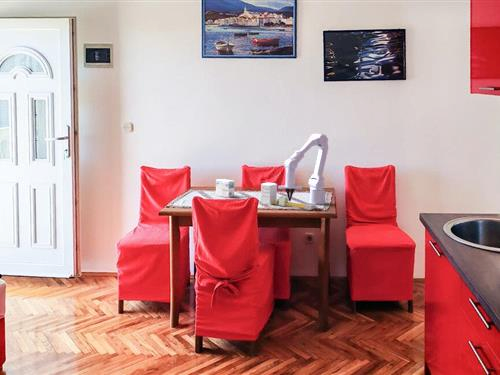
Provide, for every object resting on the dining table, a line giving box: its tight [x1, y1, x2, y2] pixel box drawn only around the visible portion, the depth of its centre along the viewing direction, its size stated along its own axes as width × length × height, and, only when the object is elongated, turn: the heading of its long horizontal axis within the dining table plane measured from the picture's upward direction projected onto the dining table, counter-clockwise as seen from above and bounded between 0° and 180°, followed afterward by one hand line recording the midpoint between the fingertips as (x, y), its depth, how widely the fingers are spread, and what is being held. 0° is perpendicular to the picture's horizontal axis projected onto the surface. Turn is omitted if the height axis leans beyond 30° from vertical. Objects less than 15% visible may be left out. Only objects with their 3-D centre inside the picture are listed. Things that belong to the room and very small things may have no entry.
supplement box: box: [260, 182, 278, 206], centre depth 397 cm, size 7×7×13 cm
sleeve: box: [278, 195, 289, 207], centre depth 393 cm, size 4×5×5 cm
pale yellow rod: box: [273, 198, 307, 209], centre depth 390 cm, size 24×4×4 cm, turn 62°
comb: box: [304, 203, 317, 210], centre depth 384 cm, size 4×7×3 cm, turn 152°
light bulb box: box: [215, 178, 235, 198], centre depth 419 cm, size 11×7×11 cm, turn 58°
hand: (289, 200), depth 391 cm, fingers closed
